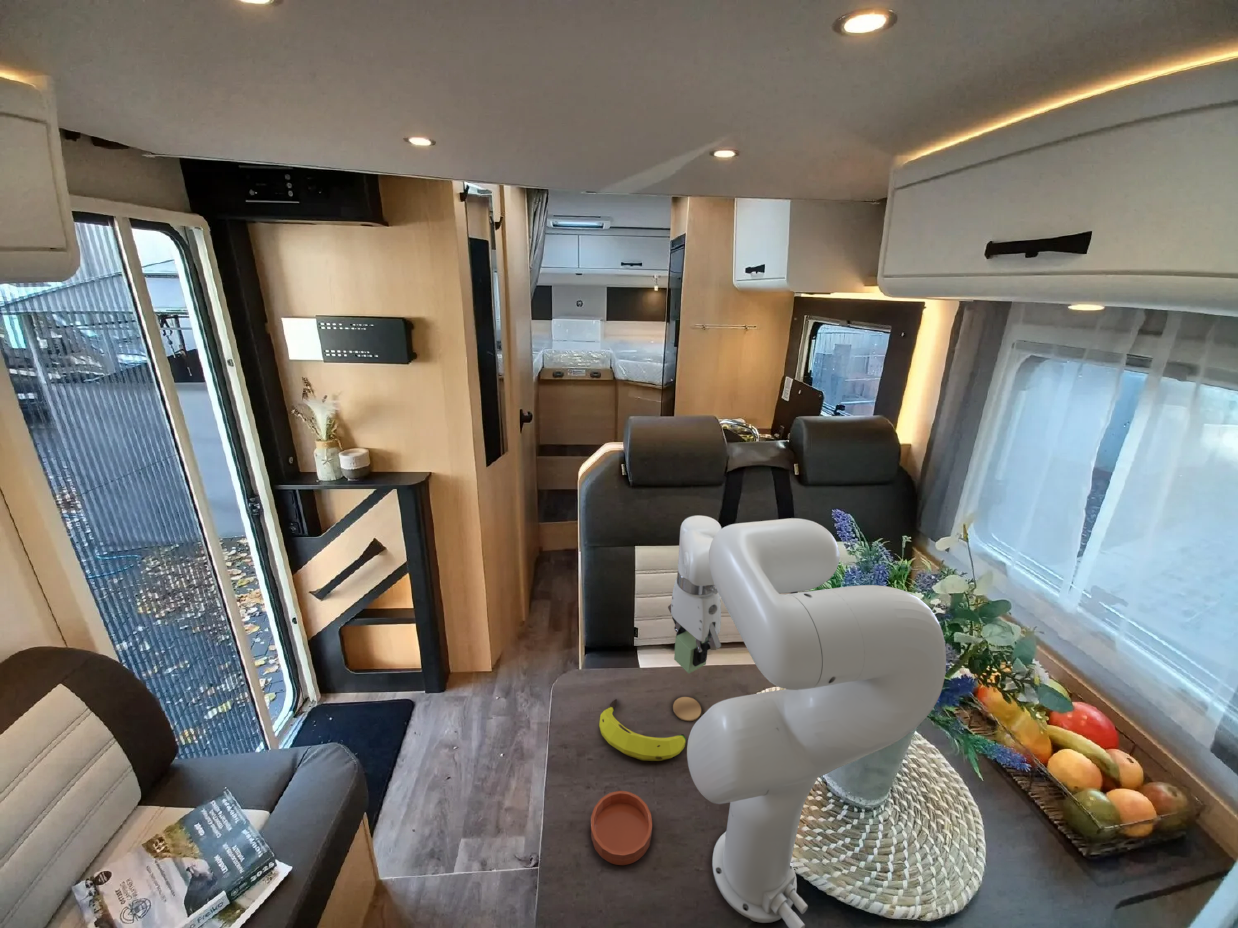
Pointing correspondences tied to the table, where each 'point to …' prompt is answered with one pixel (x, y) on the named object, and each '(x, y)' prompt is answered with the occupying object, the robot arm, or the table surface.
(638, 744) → the banana
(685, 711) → the mat
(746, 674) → the table surface
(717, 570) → the robot arm
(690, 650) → the block
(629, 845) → the bowl
